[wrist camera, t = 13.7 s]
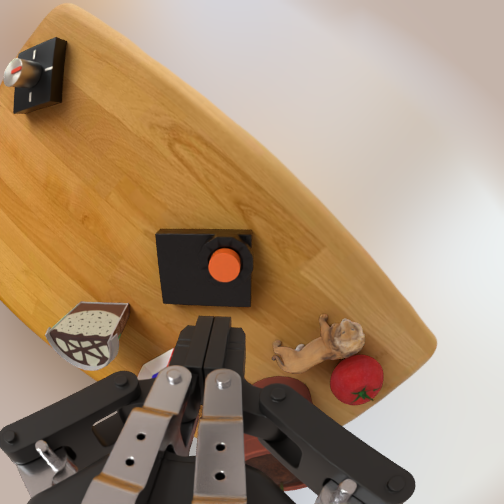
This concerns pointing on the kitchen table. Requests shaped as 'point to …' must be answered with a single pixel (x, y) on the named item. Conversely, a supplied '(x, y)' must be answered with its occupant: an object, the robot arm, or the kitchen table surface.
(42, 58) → the dial panel
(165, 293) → the black button box
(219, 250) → the button
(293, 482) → the potted plant
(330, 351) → the lion figurine
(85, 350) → the food container
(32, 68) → the dial
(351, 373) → the tomato
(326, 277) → the kitchen table surface
